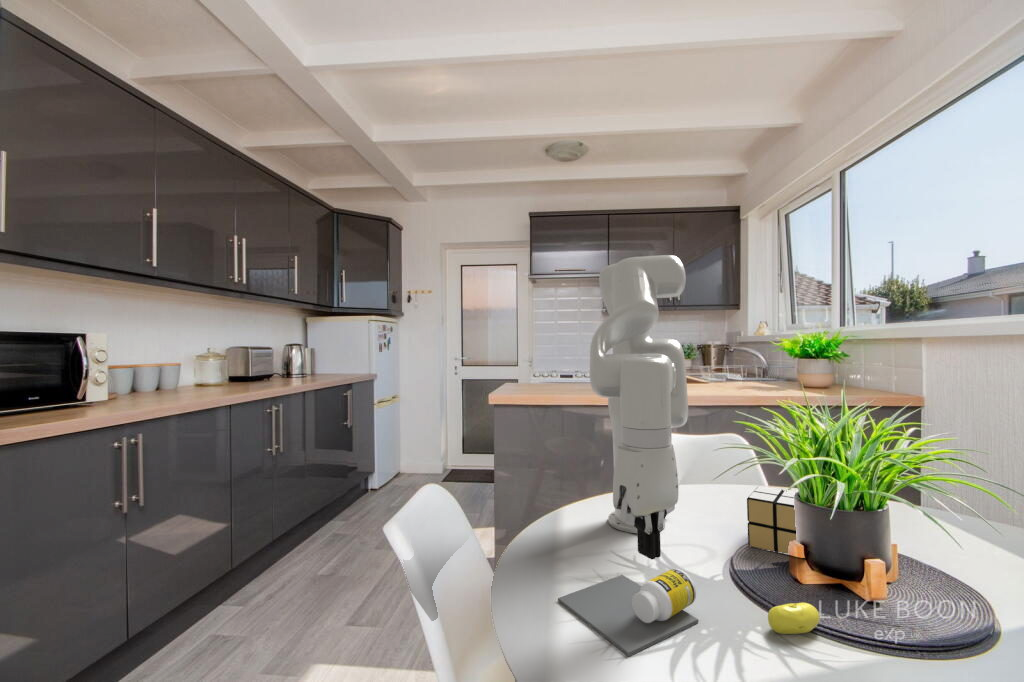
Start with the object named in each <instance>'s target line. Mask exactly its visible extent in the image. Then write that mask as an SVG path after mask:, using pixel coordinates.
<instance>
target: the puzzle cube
mask: <svg viewBox="0 0 1024 682" xmlns="http://www.w3.org/2000/svg"><path fill="white" fill-rule="evenodd" d="M786 490H787V492H786ZM795 492H797V491H796V490H789V489H785V490H784V489H782V488H777V487H770V486H764V485H758V486H756V487H755V489H754V490H753V491H752V492H751V493H750V495H749V496H748V497H747V498H746V506H747V507H746V509H747V510H746V511H747V512H746V513H747V515H746V516H747V521H748V522H747V542H748V547H750V546H751V547H750V548H753V547H755V548H754V549H757V548H760V549H759V550H761V549H764V550H763V551H766V550H770V551H776V553H777V552H782V553H788V546H789V542H790V541H793V540H796V527H795V510H794V495H795ZM770 551H769V552H770Z"/></svg>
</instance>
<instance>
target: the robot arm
mask: <svg viewBox="0 0 1024 682" xmlns="http://www.w3.org/2000/svg"><path fill="white" fill-rule="evenodd" d="M598 278H599V279H598V280H599V281H598V282H599V290H600V295H601V297H602V300H603V304H604V306H605V308H606V312H607V313H608V316H607V318H605V320H603V321H602V322H601V324H600V325H599V326H598V328H597V329H596V331H595V332H594V334H593V336H592V338H591V339H592V340H591V343H590V346H589V347H590V348H589V381H590V382H589V383H590V387H591V389H592V391H593V392H594V393H595V395H597V396H598V397H601V398H606V399H607V407H608V413H609V419H610V426H611V431H612V432H611V433H612V449H613V481H612V502H613V507H614V511H612V512H611V513H610V514H609V515H608V523H609V525H610V526H611V527H613V528H614V529H616V530H618V531H621V532H625V533H629V534H630V533H631V534H637V537H636V538H637V552H638V553H639V554H640V555H642V556H644V557H646V558H648V559H650V560H655V559H657V558H660V557H661V553H662V551H661V531H662V530H664V529H665V527H666V520H665V519H666V517H667V515H669V514H671V513H672V512H674V510H675V508H676V507H675V506H676V505H677V504H678V501H679V474H678V473H679V472H678V467H677V466H678V465H677V458H676V453H675V449H674V445H673V444H672V443H673V441H672V440H673V439H672V438H673V437H672V433H673V428H681V427H683V426H685V425H686V423H687V422H688V418H689V398H688V397H689V396H688V384H687V371H686V370H687V368H686V359H685V358H686V356H685V351H684V349H683V347H682V344H681V342H679V341H678V340H677V339H673V338H652V337H650V330H651V329H652V328H653V327H655V325H656V324H657V322H658V320H659V317H660V312H659V305H658V301H657V300H658V299H664V298H665V299H667V298H676V297H679V296H680V295H682V293H683V292H684V290H685V287H686V279H687V276H686V269H685V267H684V264H683V262H682V261H681V259H680V258H679V257H677V256H676V255H673V254H672V255H671V254H663V255H646V256H645V255H644V256H633V257H625V258H623V259H621V260H620V261H619V262H616V263H613V264H609V265H606V266H604V267H603V268H602V269H601V270H600V273H599V277H598ZM610 349H612V353H611V354H610V353H607V352H609V351H610Z"/></svg>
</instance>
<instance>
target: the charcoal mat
mask: <svg viewBox="0 0 1024 682" xmlns="http://www.w3.org/2000/svg"><path fill="white" fill-rule="evenodd" d="M641 587H642V585H640V584H639V583H637V582H636V581H634V580H632V579H631V578H629V577H628V576H626V575H624V574H620V575H618V576H615V577H613V578H609V579H606V580H603V581H600V582H598V583H595V584H593V585H590V586H587V587H585V588H582V589H579V590H577V591H574V592H570V593H568V594H565V595H562V596H560V597H557V601H558V602H559V603H560V604H561V605H563V606H564V607H565V608H566V609H568V610H569V611H570V612H571V613H572V614H574V615H575V616H577V617H578V618H579V619H580V620H582V621H583V622H584V623H586V624H587V625H588V626H589V627H591V629H593V630H594V631H596V633H598V634H599V635H601V636H602V637H603V638H605V639H606V640H607V641H609V642H610V643H611V644H613V646H615V647H616V648H617V649H618V650H619V651H621V652H622V653H624V654H625V655H626V656H627V657H630V656H632V655H635V654H636V653H639V652H640V651H643V650H645V649H646V648H649V647H651V646H653V645H655V644H657V643H660V642H662V641H664V640H665V639H667V637H668V638H670V637H672V636H675V634H676V635H677V634H678V633H680V632H683V630H686V629H688V628H690V627H692V626H695V625H697V624H698V623H699V618H697V617H695V616H694V615H692V614H690V613H689V612H686V611H685V610H684V609H683V610H681V611H680V612H678V613H677V614H675V615H673V616H672V617H670V618H669V619H667V620H665V621H657V620H654V621H652V622H650V623H645V622H643V621H642V620H640V619H639V618H638V616H637V615H636V614H635V612H634V609H633V606H632V598H633V596H634V595H635V594H636V593H638V592H640V589H641ZM669 636H670V637H669Z"/></svg>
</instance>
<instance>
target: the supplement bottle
mask: <svg viewBox="0 0 1024 682" xmlns="http://www.w3.org/2000/svg"><path fill="white" fill-rule="evenodd" d="M641 586H642V587H641V589H640V592H638V593H636V594H635V595H634V596H633V598H632V606H633V609H634V612H635V614H636V615H637V616H638V618H639V619H640V620H642V621H643V622H645V623H650V622H652V621H654V620H657V621H665V620H667V619H669V618H670V617H672V616H673V615H675V614H677V613H678V612H680V611H681V610H683V611H684V610H685V609H687V608H688V607H689V606H691V605H693V603H694V602H695V601H696V599H697V589H696V585H695V582H694V581H693V579H692V578H691V576H690V575H689V574H688V573H687V572H685V571H683V570H682V569H679V568H671V569H668V570H667V571H665V572H663V573H661V574H659V575H657V576H655V577H653V578H652V579H649V580H647V581H645V582H644V583H643V584H642V585H641Z"/></svg>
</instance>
